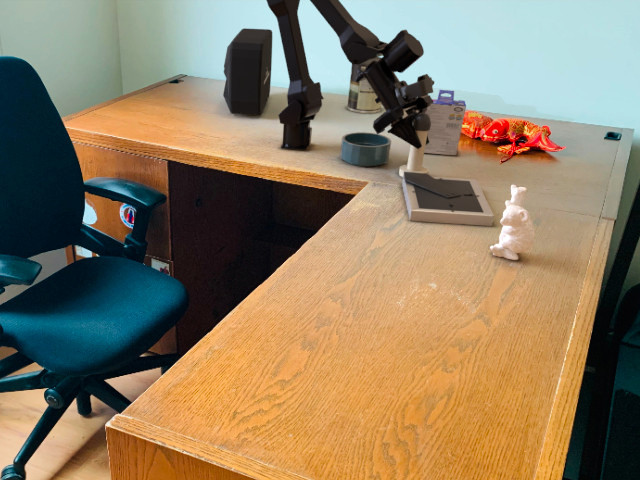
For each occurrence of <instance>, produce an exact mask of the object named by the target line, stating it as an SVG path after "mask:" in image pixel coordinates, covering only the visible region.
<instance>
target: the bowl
mask: <svg viewBox="0 0 640 480" xmlns="http://www.w3.org/2000/svg"><path fill="white" fill-rule="evenodd" d="M340 143H341V144H340V153H339V157H340V159H341V160H343V161H345V162H346V163H347V164H350V165H354V166H358V167H376V166H377V167H378V166H380V165H383V164H387V163H388V162H389V160H390V153H391V146H392V140H391V138H389V137H388V136H386V135H383V134H381V133H379V134H377V133H376V132H365V131H363V132H350V133H346V134H344V135H343V136H342V137H341V142H340Z"/></svg>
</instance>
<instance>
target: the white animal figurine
mask: <svg viewBox="0 0 640 480" xmlns="http://www.w3.org/2000/svg"><path fill="white" fill-rule="evenodd" d="M527 192H528V189H527V187H523V186H519V187H517V185H516V184H511V185H510V193H511V198H510V200H509V199H508V200H505V207H506V208H505V209H504V211H503V213H502V218H501V219H500V221H499V223H500V225H502V228H501V231H500V234H499V237H498V241H499V242H498V243H495V244H494V245H490V246H489V249H490V251H491V252H492V255H493V256H495V257H499V258H504V259H507V260H512V261H517V260H519V255H518V254H521V253H525V252H527V251H529V250H530V249H531V248H532V246H533V244H534V240H535V236H536V235H535V234H536V233H535V232H536V231H535V229H534V223H533V221H532V219H531V217H530V213H529V211H528V210H527V209H525V208H524V207H523V206H524V203H525V200H526V199H525V198H526V196H527Z"/></svg>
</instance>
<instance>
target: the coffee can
mask: <svg viewBox="0 0 640 480" xmlns="http://www.w3.org/2000/svg"><path fill="white" fill-rule="evenodd" d="M381 58H382V57H381V56H380V57H377V58H375V59H374V60H372V61H379V60H380V59H381ZM372 61H369V62H366V63H363V64H359V65H356V64H352V63H351V69H350V78H349V79H350V80H349V88H348V97H347V106H346V109H347V110H349V111H351V112H354V113H359V114H376V113H379V112H381V110H382V104H381V102H380V103H378V104H377V103H376V102H375V99H376V98H377V96H376V94H375V93H374V91H373V90H372V88H371V86H370V85H369V83H368V82H367V80H363V81H360V82H356V78H357V74H358V69H360V68H366V67H367V66H368V65H369V64H370V63H371V62H372Z"/></svg>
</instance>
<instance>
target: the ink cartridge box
mask: <svg viewBox="0 0 640 480" xmlns="http://www.w3.org/2000/svg"><path fill="white" fill-rule="evenodd" d="M443 94H448V95H450V96H443ZM454 97H455V90H446V89H439V90H438V95H437V99H433V98H432V100H433V102H434V103H432V104H431V105H430V106H429V107H427V111H426V112H425V113H426V114H428V115H429V117H430V121H431V127H430V130H429V131H428V133H427V135H428V139H429V143H428V144H427V145H425V150H424V154H434V155H448V156H457V153H458V148H459V144H460V139H461V134H462V130H463V129H462V128H463V123H464V119H465V114H466V110H467V109H466V108H467V104H466V101H465V100H457V99H456V100H455V98H454Z"/></svg>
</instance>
